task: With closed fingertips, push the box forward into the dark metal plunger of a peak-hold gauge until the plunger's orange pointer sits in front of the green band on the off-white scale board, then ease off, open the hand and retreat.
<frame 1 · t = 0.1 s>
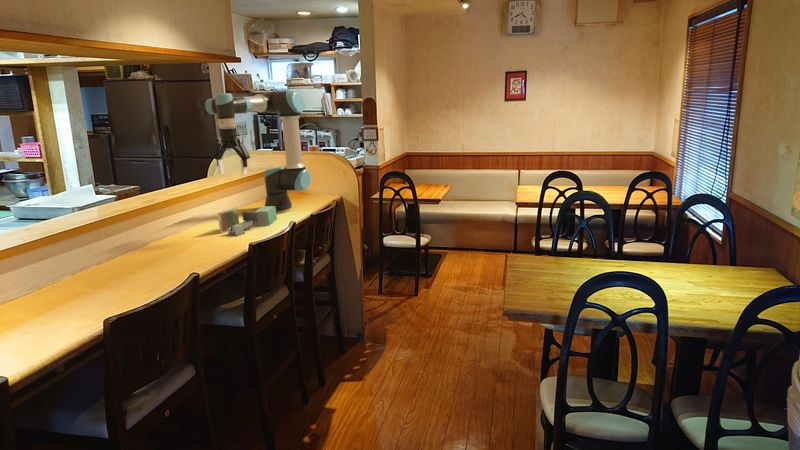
hand: (233, 173, 248), 28 cm above the counter, fingers open, 13 cm apart
gauge housing: (253, 227, 261), on the counter
plunger: (240, 221, 254), point 5 cm above the counter, slide at 0.0 cm
box: (266, 223, 270), on the counter
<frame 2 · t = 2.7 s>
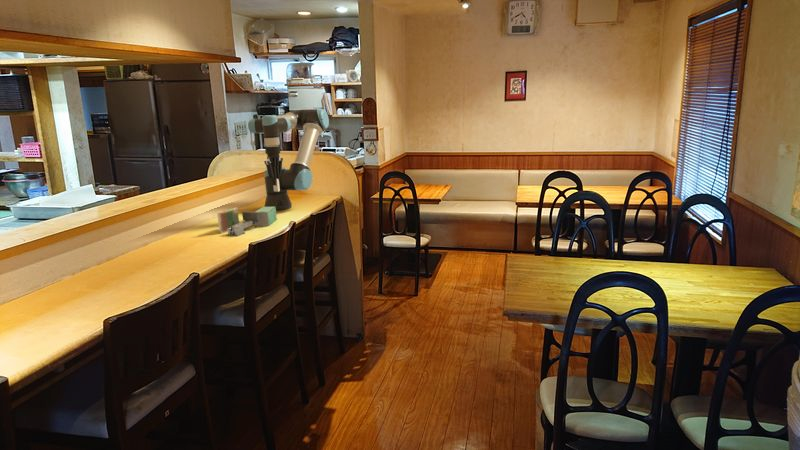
hand: (276, 191, 277), 14 cm above the counter, fingers closed
box: (266, 223, 269), on the counter
everything else where it was.
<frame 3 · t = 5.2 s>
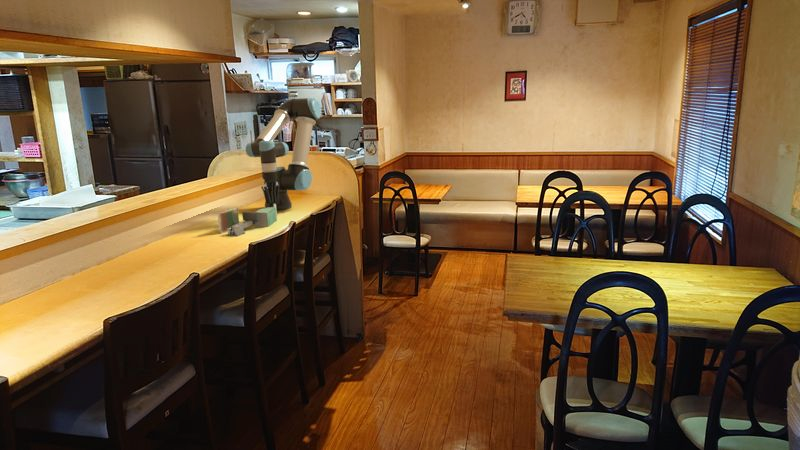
hand: (274, 215, 276), 2 cm above the counter, fingers closed
box: (266, 224, 268), on the counter, touching gripper
everything else where it was.
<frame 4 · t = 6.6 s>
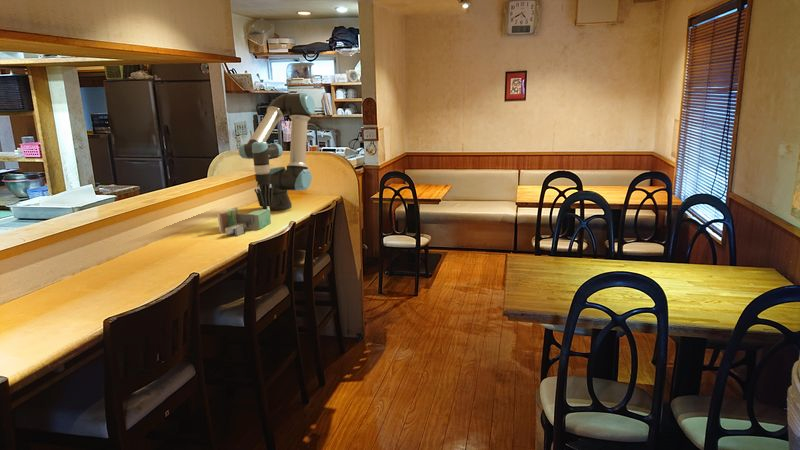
hand: (267, 218, 271), 2 cm above the counter, fingers closed
plunger: (234, 223, 250), point 5 cm above the counter, slide at 4.6 cm
box: (259, 226, 263), on the counter, touching gripper
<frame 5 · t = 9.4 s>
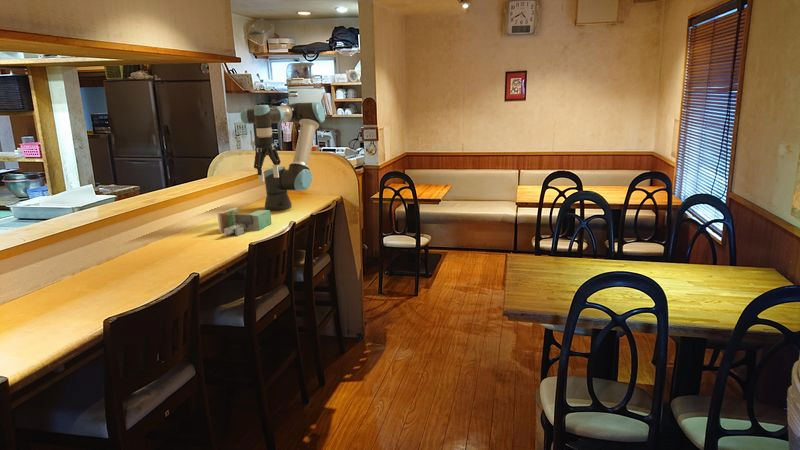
hand: (269, 179, 270), 21 cm above the counter, fingers open, 11 cm apart
plunger: (233, 223, 249), point 5 cm above the counter, slide at 5.4 cm
box: (259, 227, 262), on the counter
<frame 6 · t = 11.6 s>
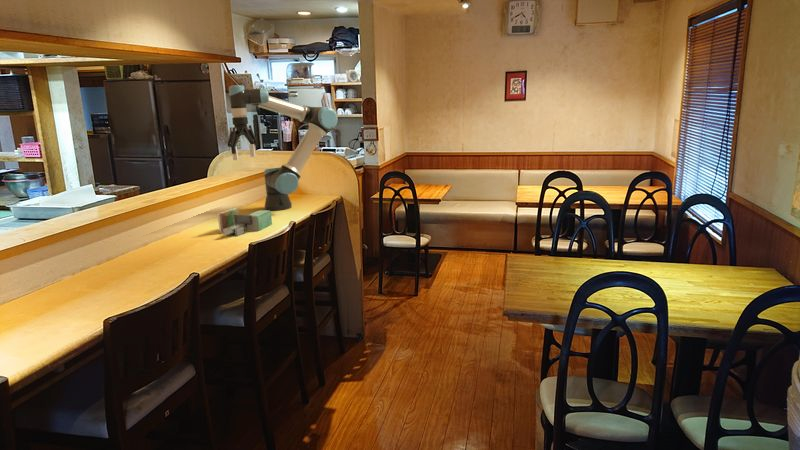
hand: (244, 158, 274), 32 cm above the counter, fingers open, 13 cm apart
plunger: (232, 224, 249), point 5 cm above the counter, slide at 5.9 cm
at the end: plunger slide at 5.9 cm; box moved 9.8 cm from its start; box tilted 0° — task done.
